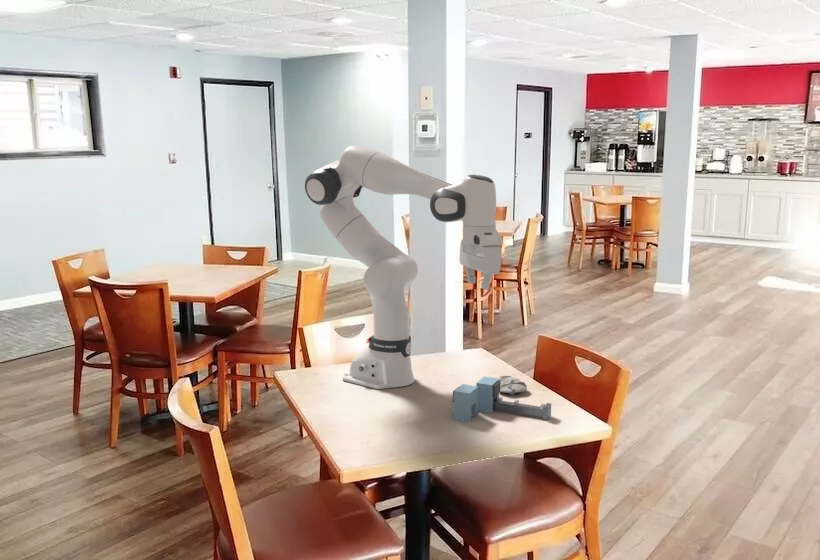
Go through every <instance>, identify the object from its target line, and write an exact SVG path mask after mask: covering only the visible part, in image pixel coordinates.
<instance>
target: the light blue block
mask: <svg viewBox="0 0 820 560" xmlns="http://www.w3.org/2000/svg"><path fill="white" fill-rule="evenodd" d="M452 404H453V415H452V416H453V420H455V421H460V422H466V423H470V422H471V421H472V416H473V417H476V416H477V415H478V412H479V411H478V386H476V385H470V384H464V383H462V384H461V385H458V387H456V388H455V389H454V390H453V391H452Z"/></svg>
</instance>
